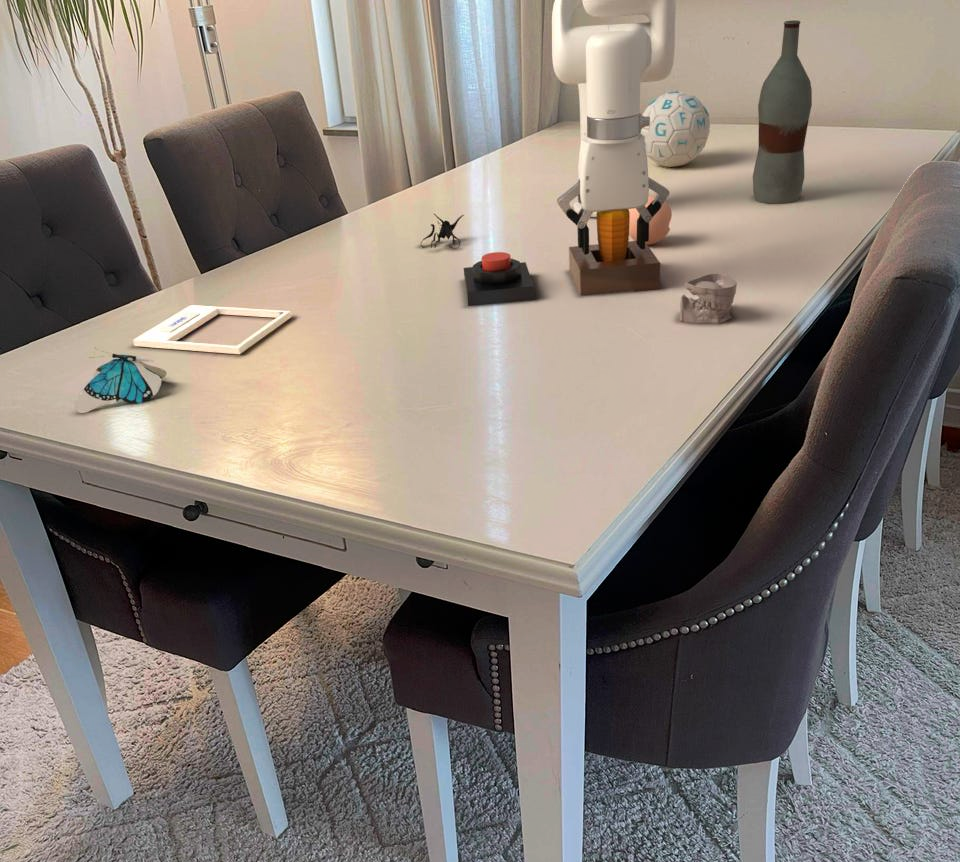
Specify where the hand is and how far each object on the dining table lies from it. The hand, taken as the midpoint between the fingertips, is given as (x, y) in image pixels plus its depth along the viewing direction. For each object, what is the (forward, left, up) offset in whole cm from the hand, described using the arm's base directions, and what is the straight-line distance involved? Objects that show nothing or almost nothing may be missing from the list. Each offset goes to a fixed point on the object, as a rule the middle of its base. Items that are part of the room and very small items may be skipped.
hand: (613, 248), depth 146 cm
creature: (-27, -26, -5) cm, 38 cm away
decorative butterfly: (+27, -69, -5) cm, 74 cm away
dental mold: (+19, +10, -5) cm, 22 cm away
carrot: (0, 0, -5) cm, 5 cm away
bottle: (-38, +38, -5) cm, 54 cm away
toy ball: (-17, +9, -5) cm, 20 cm away
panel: (0, -18, -5) cm, 19 cm away
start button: (0, -18, -1) cm, 18 cm away
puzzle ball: (-72, +26, -5) cm, 77 cm away
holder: (0, 0, -5) cm, 5 cm away
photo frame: (+7, -61, -5) cm, 62 cm away
